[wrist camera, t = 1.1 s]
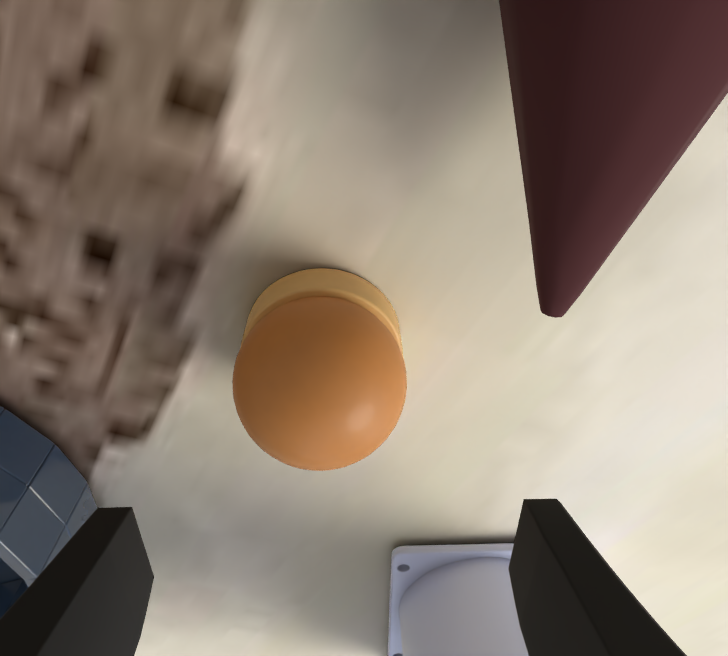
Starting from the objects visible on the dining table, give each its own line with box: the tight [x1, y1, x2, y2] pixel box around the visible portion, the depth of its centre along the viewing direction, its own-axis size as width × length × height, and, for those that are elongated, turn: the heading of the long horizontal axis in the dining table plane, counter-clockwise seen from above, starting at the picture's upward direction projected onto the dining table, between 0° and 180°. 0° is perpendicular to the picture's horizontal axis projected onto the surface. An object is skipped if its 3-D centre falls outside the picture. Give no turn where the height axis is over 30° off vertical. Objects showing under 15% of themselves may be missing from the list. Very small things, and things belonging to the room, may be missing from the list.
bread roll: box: [233, 268, 407, 471], centre depth 16 cm, size 5×5×5 cm
